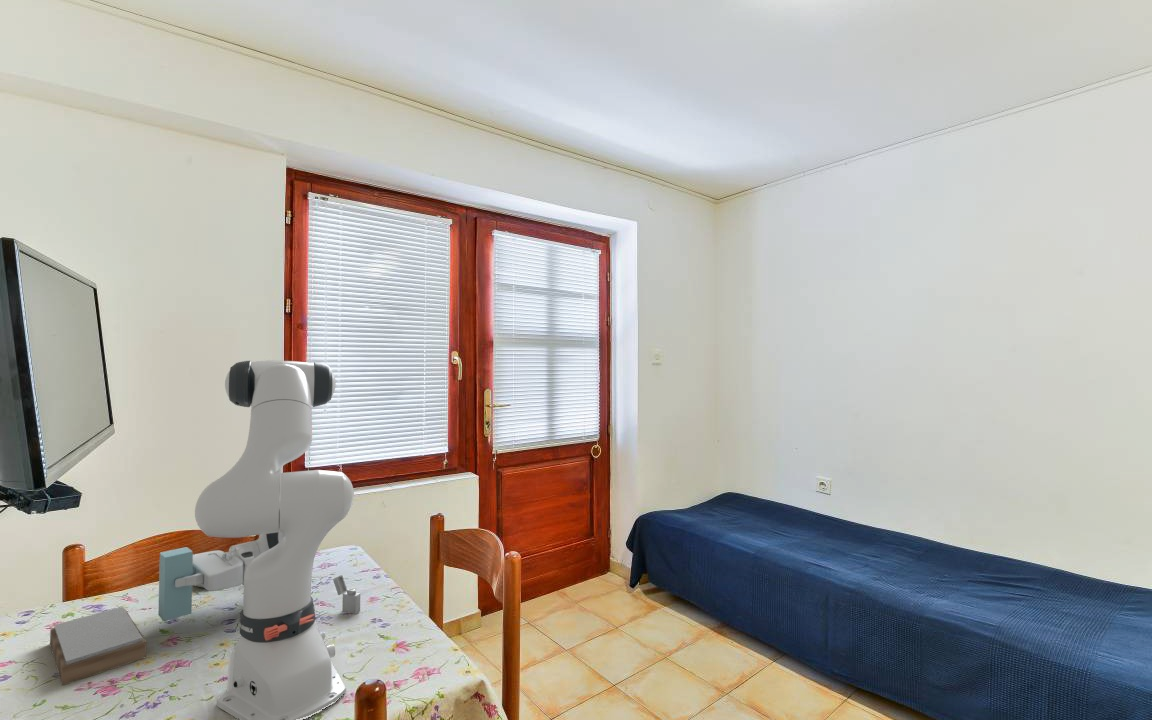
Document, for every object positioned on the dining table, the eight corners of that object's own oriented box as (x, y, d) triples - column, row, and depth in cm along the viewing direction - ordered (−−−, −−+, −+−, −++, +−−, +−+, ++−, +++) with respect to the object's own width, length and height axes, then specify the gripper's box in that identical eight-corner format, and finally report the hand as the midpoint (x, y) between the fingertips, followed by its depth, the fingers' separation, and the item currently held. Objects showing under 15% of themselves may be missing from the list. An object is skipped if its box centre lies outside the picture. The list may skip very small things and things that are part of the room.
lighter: (360, 611, 123) (361, 578, 123) (355, 614, 121) (355, 580, 121) (337, 606, 125) (338, 574, 125) (332, 609, 124) (332, 576, 124)
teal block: (191, 613, 115) (192, 551, 116) (163, 621, 111) (165, 557, 112) (185, 607, 118) (186, 546, 119) (158, 614, 114) (159, 552, 115)
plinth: (145, 657, 103) (146, 637, 103) (61, 685, 93) (62, 663, 93) (124, 622, 117) (125, 605, 117) (49, 644, 107) (50, 625, 107)
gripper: (227, 540, 132) (160, 555, 121) (255, 558, 119) (183, 576, 108) (227, 565, 131) (159, 581, 121) (255, 585, 118) (182, 606, 108)
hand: (170, 579), depth 114 cm, fingers closed on teal block, 5 cm apart
